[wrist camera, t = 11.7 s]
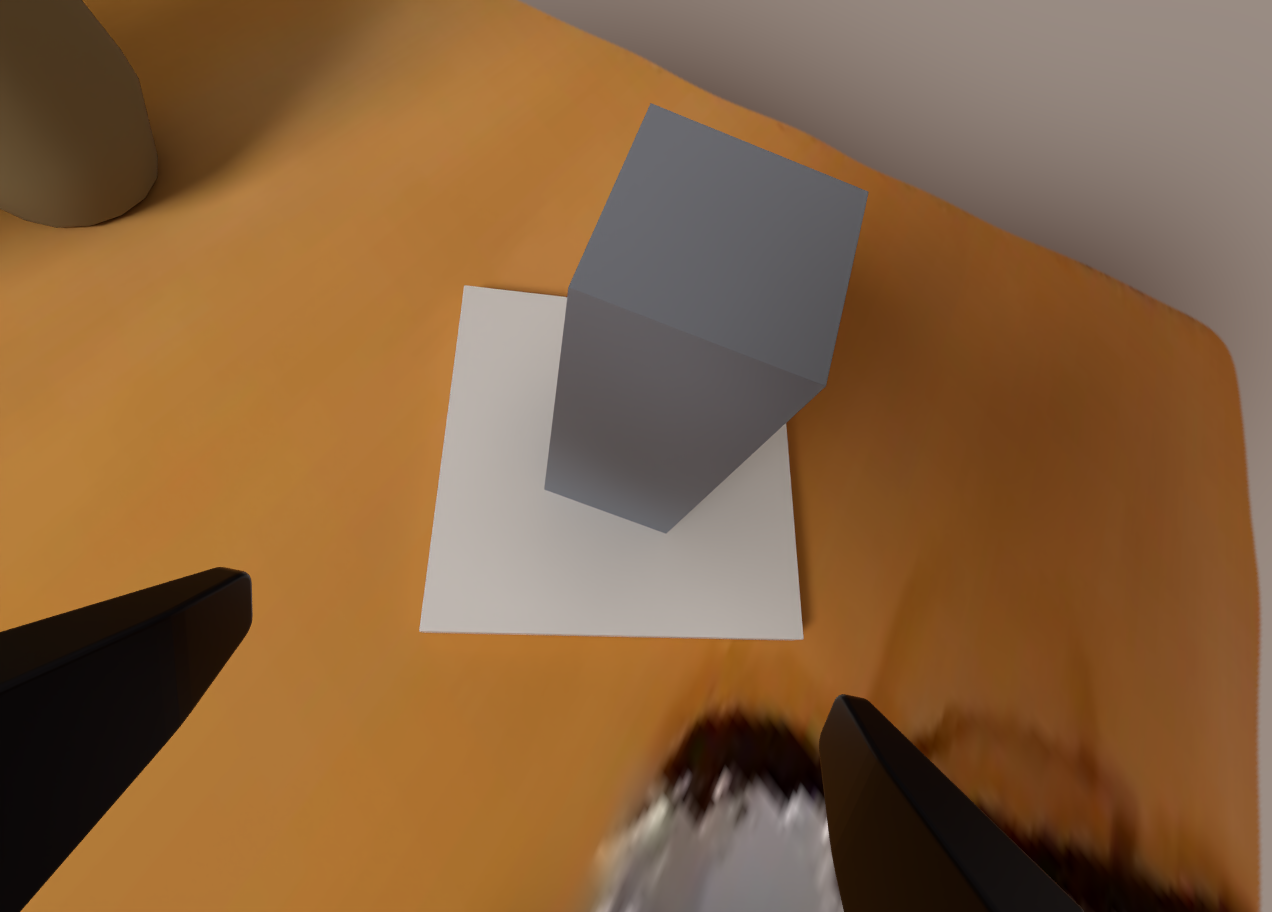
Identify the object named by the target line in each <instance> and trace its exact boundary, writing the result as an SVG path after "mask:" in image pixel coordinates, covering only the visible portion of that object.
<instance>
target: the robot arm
mask: <svg viewBox="0 0 1272 912" xmlns="http://www.w3.org/2000/svg"><path fill="white" fill-rule="evenodd" d="M251 623H252V583H251V578H250V576H249V574H248V573H246V572H244V571H240V570H235V569H230V568H225V567H217V568H213V569H210V570H206V571H203V572H199V573H196V574H193V575H189V576H186V577H183V578H179V579H176V580H173V581H169V582H166V583H163V584H159V585H156V586H153V587H149V588H146V589H143V590H139V591H136V592H133V593H129V594H126V595H123V596H119V597H116V598H113V599H109V600H106V601H103V602H99V603H96V604H93V605H89V606H86V607H83V608H79V609H76V610H73V611H69V612H66V613H63V614H59V615H56V616H53V617H49V618H46V619H42V620H39V621H36V622H32V623H29V624H26V625H22V626H19V627H16V628H12V629H9V630H6V631H2V632H0V912H20V911H21V910H22V909H23V908H24V907H25V906H26V904H27V903H28V902H29V901H30V900H31V899H32V898H33V896H34V895H35V894H36V893H37V892H38V891H39V889H40V888H41V887H42V886H43V885H44V884H45V882H46V881H47V880H48V879H49V878H50V877H51V876H52V874H53V873H54V872H55V871H56V870H57V869H58V867H59V866H60V865H61V864H62V863H63V862H64V861H65V859H66V858H67V857H68V856H69V855H70V854H71V852H72V851H73V850H74V849H75V848H76V847H77V846H78V844H79V843H80V842H81V841H82V840H83V839H84V837H85V836H86V835H87V834H88V833H89V832H90V831H91V829H92V828H93V827H94V826H95V825H96V824H97V822H98V821H99V820H100V819H101V818H102V817H103V816H104V814H105V813H106V812H107V811H108V810H109V809H110V807H111V806H112V805H113V804H114V803H115V802H116V801H117V799H118V798H119V797H120V796H121V795H122V794H123V792H124V791H125V790H126V789H127V788H128V787H129V786H130V784H131V783H132V782H133V781H134V780H135V779H136V777H137V776H138V775H139V774H140V773H141V772H142V770H143V769H144V768H145V767H146V766H147V765H148V764H149V762H150V761H151V760H152V759H153V758H154V757H155V755H156V754H157V753H158V752H159V751H160V750H161V749H162V747H163V746H164V745H165V744H166V743H167V742H168V740H169V739H170V738H171V737H172V736H173V734H174V733H175V732H176V731H177V730H178V728H179V727H180V726H181V725H182V723H183V722H184V721H185V719H186V718H187V717H188V715H189V714H190V713H191V712H192V710H193V709H194V707H195V706H196V705H197V703H198V702H199V700H200V699H201V698H202V696H203V695H204V693H205V692H206V691H207V689H208V688H209V686H210V685H211V684H212V682H213V681H214V679H215V678H216V677H217V675H218V674H219V672H220V671H221V670H222V668H223V667H224V665H225V664H226V663H227V661H228V660H229V658H230V657H231V656H232V654H233V653H234V651H235V650H236V649H237V647H238V646H239V644H240V643H241V642H242V640H243V639H244V637H245V636H246V634H247V633H248V631H249V629H250V626H251ZM819 753H820V762H821V770H822V779H823V787H824V796H825V804H826V813H827V821H828V830H829V838H830V845H831V852H832V858H833V863H834V868H835V873H836V877H837V882H838V886H839V891H840V896H841V900H842V905H843V909H844V912H1083V909H1082V908H1081V907H1080V906H1079V905H1078V904H1077V903H1076V902H1075V901H1074V900H1073V899H1072V898H1071V897H1070V896H1069V895H1068V894H1067V893H1066V892H1065V891H1064V890H1062V889H1061V888H1060V887H1059V886H1058V885H1057V884H1056V883H1055V882H1054V881H1053V880H1052V879H1051V878H1050V877H1049V876H1048V875H1047V874H1046V873H1045V872H1044V871H1043V870H1042V869H1041V868H1040V867H1039V866H1038V865H1037V864H1036V863H1035V862H1034V861H1033V860H1032V859H1031V858H1030V857H1029V856H1028V855H1027V854H1025V853H1024V852H1023V851H1022V850H1021V849H1020V848H1019V847H1018V846H1017V845H1016V844H1015V843H1014V842H1013V841H1012V840H1011V839H1010V838H1009V837H1008V836H1007V835H1006V834H1005V833H1004V832H1003V831H1002V830H1001V829H1000V828H999V827H998V826H997V825H996V824H995V823H994V822H993V821H992V820H991V819H989V818H988V817H987V816H986V815H985V814H984V813H983V812H982V811H981V810H980V809H979V808H978V807H977V806H976V805H975V804H974V803H973V802H972V801H971V800H970V799H969V798H968V797H967V796H966V795H965V794H964V793H963V792H962V791H961V790H960V789H959V788H958V787H957V786H956V785H955V784H954V783H952V782H951V781H950V780H949V779H948V778H947V777H946V776H945V775H944V774H943V773H942V772H941V771H940V770H939V769H938V768H937V767H936V766H935V765H934V764H933V763H932V762H931V761H930V760H929V759H928V758H927V757H926V756H925V755H924V754H923V753H922V752H921V751H920V750H919V749H918V748H917V747H915V746H914V745H913V744H912V743H911V742H910V741H909V740H908V739H907V738H906V737H905V736H904V735H903V734H902V733H901V732H900V731H899V730H898V729H897V728H896V727H895V726H894V725H893V724H892V723H891V722H890V721H889V720H888V719H887V718H886V717H885V716H884V715H883V714H882V713H881V712H880V711H878V710H877V709H876V708H875V707H874V706H873V705H872V704H871V703H870V702H869V701H868V700H866V699H864V698H860V697H855V696H850V695H845V694H842V695H839V696H838V697H837V698H836V699H835V701H834V703H833V706H832V708H831V710H830V713H829V715H828V718H827V720H826V722H825V725H824V727H823V730H822V732H821V735H820V740H819Z"/></svg>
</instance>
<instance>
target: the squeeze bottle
mask: <svg viewBox="0 0 1272 912" xmlns="http://www.w3.org/2000/svg"><path fill="white" fill-rule="evenodd" d="M157 170H158V155H157V151H156V147H155V143H154V139H153V135H152V131H151V127H150V123H149V119H148V115H147V111H146V107H145V103H144V98H143V94H142V90H141V86H140V82H139V78H138V76H137V75H136V73H135V72H134V70H133V68H132V67H131V65H130V64H129V62H128V60H127V59H126V57H125V56H124V54H123V52H122V51H121V49H120V48H119V47H118V45H117V44H116V43H115V42H114V40H113V39H112V38H111V37H110V35H109V34H108V33H107V32H106V30H105V29H104V28H103V26H102V25H101V24H100V23H99V21H98V20H97V19H96V18H95V16H94V15H93V14H92V12H91V11H90V10H89V9H88V7H87V6H86V5H85V4H84V2H83V1H82V0H0V209H2V210H4V211H6V212H8V213H10V214H13V215H15V216H17V217H19V218H21V219H23V220H26V221H30V222H35V223H39V224H43V225H48V226H52V227H56V228H58V227H76V226H91V225H94V224H97V223H100V222H103V221H106V220H109V219H112V218H115V217H118V216H121V215H123V214H124V213H125V212H127V211H128V210H129V209H131V208H132V207H134V206H135V205H136V204H138V203H139V202H140V201H142V200H143V199H144V198H145V197H146V196H147V194H148V192H149V191H150V189H151V187H152V185H153V184H154V182H155V180H156V179H157Z"/></svg>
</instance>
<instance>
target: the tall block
mask: <svg viewBox="0 0 1272 912" xmlns="http://www.w3.org/2000/svg"><path fill="white" fill-rule="evenodd" d="M867 197H868V191H865V190H863V189H860V188H858V187H855V186H853V185H850V184H848V183H846V182H843V181H841V180H838V179H836V178H833V177H831V176H828V175H826V174H823V173H821V172H819V171H816V170H814V169H811V168H809V167H806V166H804V165H801V164H799V163H796V162H794V161H791V160H789V159H787V158H784V157H782V156H779V155H777V154H774V153H772V152H769V151H767V150H764V149H762V148H759V147H757V146H755V145H752V144H750V143H747V142H745V141H742V140H740V139H737V138H735V137H732V136H730V135H728V134H725V133H723V132H720V131H718V130H715V129H713V128H710V127H708V126H705V125H703V124H700V123H698V122H696V121H693V120H691V119H688V118H686V117H683V116H681V115H678V114H676V113H673V112H671V111H668V110H666V109H664V108H661V107H659V106H656V105H654V104H650V106H649V108H648V111H647V113H646V115H645V117H644V120H643V122H642V124H641V126H640V128H639V131H638V133H637V135H636V137H635V140H634V142H633V144H632V146H631V149H630V151H629V153H628V155H627V158H626V160H625V162H624V164H623V167H622V169H621V171H620V173H619V175H618V178H617V180H616V182H615V184H614V187H613V189H612V191H611V193H610V196H609V198H608V200H607V202H606V205H605V207H604V209H603V211H602V214H601V216H600V218H599V220H598V222H597V225H596V227H595V229H594V231H593V234H592V236H591V238H590V240H589V243H588V245H587V247H586V249H585V252H584V254H583V256H582V258H581V260H580V263H579V265H578V267H577V269H576V272H575V274H574V276H573V278H572V281H571V283H570V285H569V288H568V296H567V304H566V313H565V321H564V329H563V337H562V346H561V354H560V362H559V370H558V379H557V387H556V395H555V404H554V412H553V420H552V428H551V437H550V445H549V453H548V461H547V470H546V478H545V486H544V490H547V491H550V492H552V493H555V494H558V495H561V496H563V497H566V498H569V499H572V500H574V501H577V502H580V503H583V504H585V505H588V506H591V507H594V508H597V509H599V510H602V511H605V512H608V513H610V514H613V515H616V516H619V517H621V518H624V519H627V520H630V521H632V522H635V523H638V524H641V525H643V526H646V527H649V528H652V529H654V530H657V531H660V532H663V533H665V534H666V533H667V532H669V531H670V530H671V529H672V528H673V527H674V526H675V525H676V524H677V523H678V522H679V521H680V520H682V519H683V518H684V517H685V516H686V515H687V514H688V513H689V512H690V511H691V510H692V509H693V508H695V507H696V506H697V505H698V504H699V503H700V502H701V501H702V500H703V499H704V498H705V497H706V496H708V495H709V494H710V493H711V492H712V491H713V490H714V489H715V488H716V487H717V486H718V485H719V484H720V483H722V482H723V481H724V480H725V479H726V478H727V477H728V476H729V475H730V474H731V473H732V472H733V471H735V470H736V469H737V468H738V467H739V466H740V465H741V464H742V463H743V462H744V461H745V460H746V459H748V458H749V457H750V456H751V455H752V454H753V453H754V452H755V451H756V450H757V449H758V448H759V447H761V446H762V445H763V444H764V443H765V442H766V441H767V440H768V439H769V438H770V437H771V436H772V435H774V434H775V433H776V432H777V431H778V430H779V429H780V428H781V427H782V426H783V425H784V424H785V423H787V422H788V421H789V420H790V419H791V418H792V417H793V416H794V415H795V414H796V413H797V412H798V411H800V410H801V409H802V408H803V407H804V406H805V405H806V404H807V403H808V402H809V401H810V400H811V399H813V398H814V397H815V396H816V395H817V394H818V393H819V392H820V391H821V390H822V389H823V388H824V387H825V386H826V383H827V379H828V374H829V370H830V365H831V361H832V356H833V351H834V347H835V342H836V338H837V333H838V329H839V324H840V320H841V315H842V310H843V306H844V301H845V297H846V292H847V288H848V283H849V279H850V274H851V270H852V265H853V260H854V256H855V251H856V247H857V242H858V238H859V233H860V229H861V224H862V219H863V215H864V210H865V206H866V201H867Z"/></svg>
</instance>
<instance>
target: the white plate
mask: <svg viewBox="0 0 1272 912" xmlns="http://www.w3.org/2000/svg"><path fill="white" fill-rule="evenodd" d="M566 304H567V297H561V296H552V295H544V294H535V293H526V292H517V291H509V290H500V289H491V288H483V287H474V286H465V285H464V292H463V300H462V308H461V315H460V323H459V331H458V338H457V346H456V354H455V361H454V369H453V377H452V384H451V392H450V400H449V407H448V415H447V423H446V430H445V438H444V446H443V453H442V461H441V469H440V476H439V484H438V492H437V499H436V507H435V515H434V522H433V530H432V538H431V545H430V553H429V561H428V568H427V576H426V584H425V591H424V599H423V607H422V614H421V622H420V630H419V631H420V632H423V633H464V634H511V635H559V636H606V637H653V638H700V639H748V640H802V639H803V627H802V615H801V602H800V590H799V577H798V565H797V552H796V540H795V527H794V515H793V503H792V490H791V478H790V465H789V453H788V440H787V428H786V423H785V424H784V425H783V426H782V427H781V428H780V429H779V430H778V431H777V432H776V433H775V434H774V435H772V436H771V437H770V438H769V439H768V440H767V441H766V442H765V443H764V444H763V445H762V446H761V447H759V448H758V449H757V450H756V451H755V452H754V453H753V454H752V455H751V456H750V457H749V458H748V459H746V460H745V461H744V462H743V463H742V464H741V465H740V466H739V467H738V468H737V469H736V470H735V471H733V472H732V473H731V474H730V475H729V476H728V477H727V478H726V479H725V480H724V481H723V482H722V483H720V484H719V485H718V486H717V487H716V488H715V489H714V490H713V491H712V492H711V493H710V494H709V495H708V496H706V497H705V498H704V499H703V500H702V501H701V502H700V503H699V504H698V505H697V506H696V507H695V508H693V509H692V510H691V511H690V512H689V513H688V514H687V515H686V516H685V517H684V518H683V519H682V520H680V521H679V522H678V523H677V524H676V525H675V526H674V527H673V528H672V529H671V530H670V531H669V532H667V533H666V534H665V533H663V532H660V531H657V530H654V529H652V528H649V527H646V526H643V525H641V524H638V523H635V522H632V521H630V520H627V519H624V518H621V517H619V516H616V515H613V514H610V513H608V512H605V511H602V510H599V509H597V508H594V507H591V506H588V505H585V504H583V503H580V502H577V501H574V500H572V499H569V498H566V497H563V496H561V495H558V494H555V493H552V492H550V491H547V490H544V486H545V478H546V470H547V461H548V453H549V445H550V437H551V428H552V420H553V412H554V404H555V395H556V387H557V379H558V370H559V362H560V354H561V346H562V337H563V329H564V321H565V313H566Z"/></svg>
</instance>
